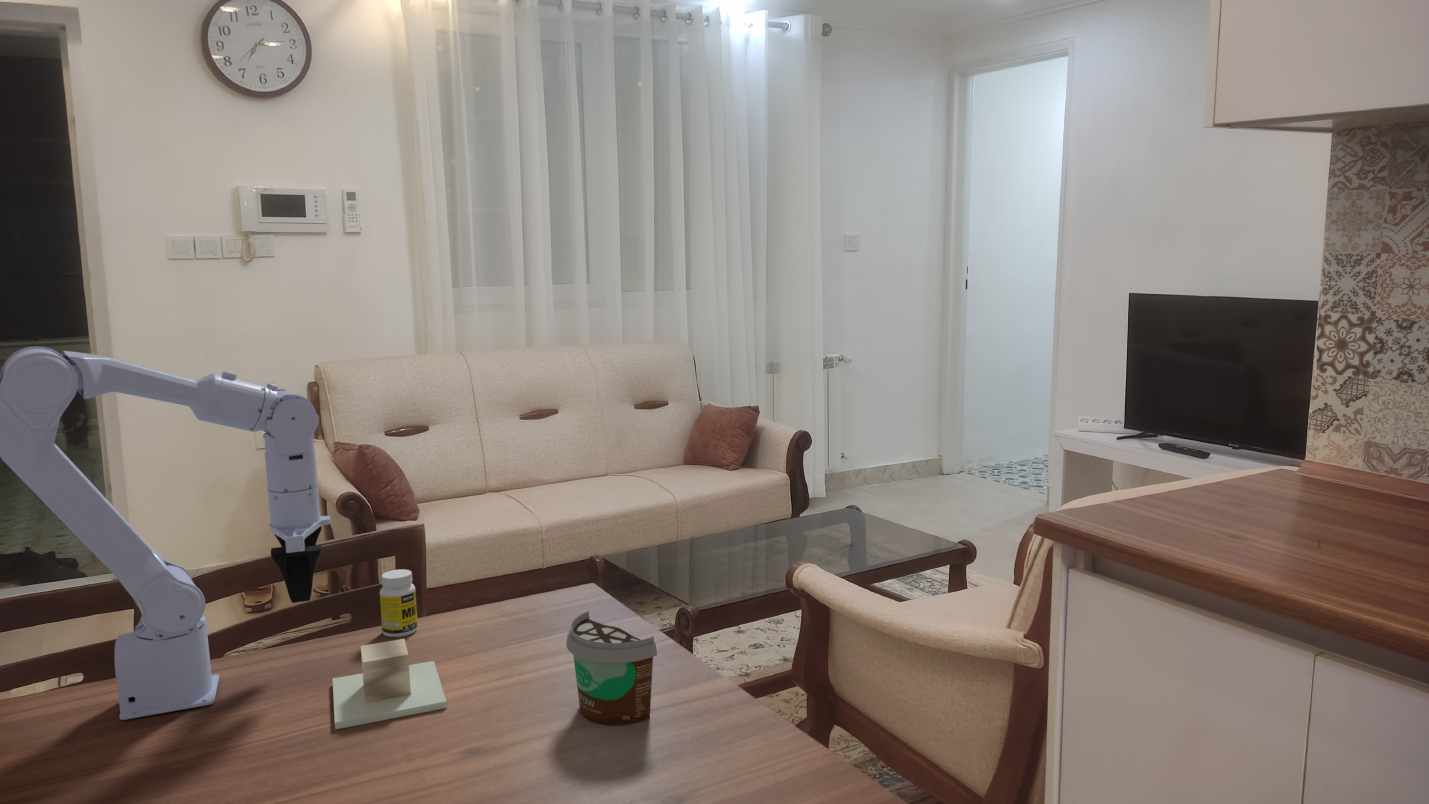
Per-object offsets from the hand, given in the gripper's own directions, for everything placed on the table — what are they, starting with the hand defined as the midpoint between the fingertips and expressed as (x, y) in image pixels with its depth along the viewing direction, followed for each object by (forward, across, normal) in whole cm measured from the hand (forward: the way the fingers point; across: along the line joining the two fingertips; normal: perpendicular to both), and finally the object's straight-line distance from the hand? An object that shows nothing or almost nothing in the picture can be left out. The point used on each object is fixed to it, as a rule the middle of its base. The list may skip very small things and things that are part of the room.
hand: (301, 590), depth 118 cm
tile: (+10, -14, -9) cm, 19 cm away
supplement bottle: (+10, +6, -12) cm, 17 cm away
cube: (+9, -14, -9) cm, 19 cm away
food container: (+10, -28, -31) cm, 43 cm away
